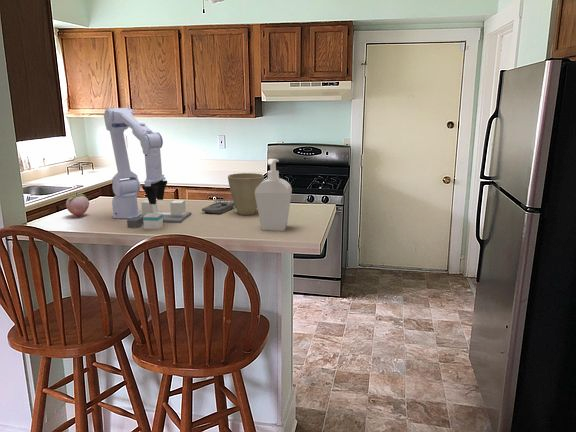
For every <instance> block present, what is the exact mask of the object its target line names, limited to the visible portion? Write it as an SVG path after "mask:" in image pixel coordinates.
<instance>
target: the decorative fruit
mask: <svg viewBox="0 0 576 432" xmlns="http://www.w3.org/2000/svg"><path fill="white" fill-rule="evenodd" d="M65 208H66V209H67V211H68V212H69V213H70V214H71V215H73V216H77V217H81V216H82V215H83V214H85V213H86V212H87V211H88V209H89V208H90V200H89V199H88V198H87V197H86V195H85V194H83V193H79V194H78V193H77V192H76V193H75V195H73V196H70V197H69V198H67V200H66V201H65Z"/></svg>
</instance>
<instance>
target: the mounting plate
mask: <svg viewBox="0 0 576 432" xmlns="http://www.w3.org/2000/svg"><path fill="white" fill-rule="evenodd" d="M140 204H141V213H142V214H141V217H143V216H144V215H146V214H148V213H162V215H163V217H162V218H163V224H165V223H167V224H168V223H169V224H170V223H171V224H180V223H182V222H183V221H185V220H186V219H187V218H189V217H190V216H192V211H187V210H186V209H187V208H186V200H181V199H180V200H177V199H175V200H173V201H171V202H170V203H169V205H170V211H159V209H158V200H157V199H156V204H150V203H149V201H148V199H145V200H143V201H141V203H140Z"/></svg>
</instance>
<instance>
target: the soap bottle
mask: <svg viewBox="0 0 576 432" xmlns="http://www.w3.org/2000/svg"><path fill="white" fill-rule="evenodd" d="M279 162H280V160H279V159H278V158H268V160H267V165H268V166H269V167H270V170H268V171H267V179H265V180H264V179H263V182H262V183H260V184H259V185H258V187H257V188H256V190H255V198H256V203H257V213H258V218H259V223H260V228H261V231H278V232H279V231H280V232H281V231H283V232H284V231H285V230H286V228H287V227H288V219H289V213H290V207H291V200H292V199H291V198H292V191H293V188H292V184H290V183H289V182H288V181H287V180H285V179H283V178H281V177H280V175H279V174H280V171H279V170H277V167H276V166H277V165H276V164H277V163H279Z"/></svg>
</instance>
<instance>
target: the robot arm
mask: <svg viewBox="0 0 576 432" xmlns="http://www.w3.org/2000/svg"><path fill="white" fill-rule="evenodd" d="M103 119H104V123H105V130H106V131H108V132H109V133H110V134H109V135H110V139H111V144H112V148H113V149H112V150H113V154H114V160H115V165H116V169H117V173H116V174H114V176H113V177H112V178H111V179H112V180H111V181H112V186H111V187H112V192H113V194H114V196H113V198H112V202H111V206H112V214H113V215H112V219H130V218H132V217H141V216H142V212H139V205H138V195H139V194H140V191H141V188H142V190H143V192H144V193H145V195H146V197H147V200H148V201H149V203H150V204H156V200H157V201H163V200H164V197H165V191H166V186H167V185H168V180H166V179H167V178H166V177H165V174H163V169H162V156H161V155H162V154H161V153H162V152H161V148H162V147H163V145H164V141H163V137H162V135H161V134H160V132H154V131H153V130H151V129H150V128H149V126H147V125H146V123H145V122H139V121H138V120H137V119H136V118H135V116H134V111H133V109H132V108H131V107H115V108H113V107H111V108H109V107H107V108H105V110H104V113H103ZM129 128H130V129H131V132H132V135H133V136H134V137H135V138H136V139H137V140H138V141H139V143H140V147H141V149H142V154H143V155H144V164H145V174H146V175H145V176H146V177H145V180H144V181H143V182H144V184H143V185H142V186H141V183H140V180H139V178H138V175H137V173H135V172H133V171H132V170H131V167H130V162H129V161H130V160H129V155H128V150H127V145H126V140H125V134H124V132H125V131H126V130H128V129H129Z"/></svg>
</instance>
